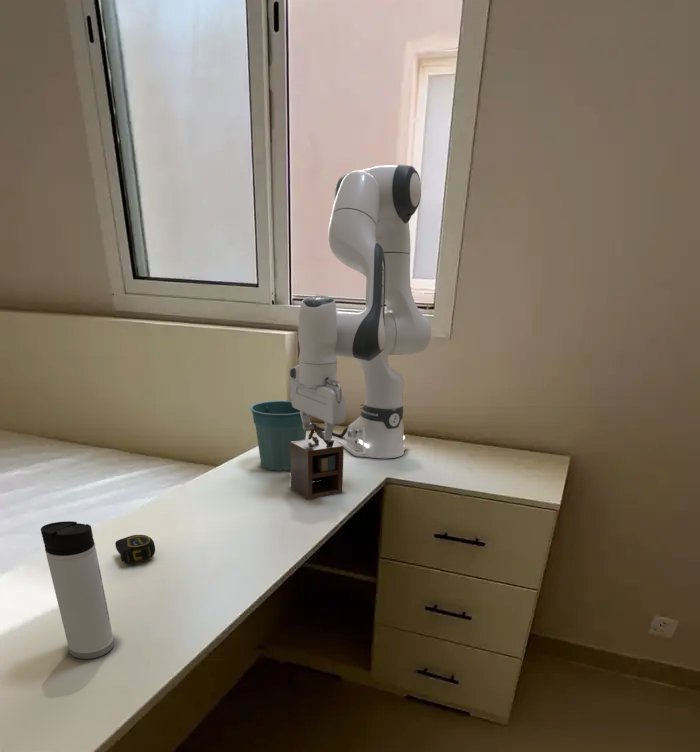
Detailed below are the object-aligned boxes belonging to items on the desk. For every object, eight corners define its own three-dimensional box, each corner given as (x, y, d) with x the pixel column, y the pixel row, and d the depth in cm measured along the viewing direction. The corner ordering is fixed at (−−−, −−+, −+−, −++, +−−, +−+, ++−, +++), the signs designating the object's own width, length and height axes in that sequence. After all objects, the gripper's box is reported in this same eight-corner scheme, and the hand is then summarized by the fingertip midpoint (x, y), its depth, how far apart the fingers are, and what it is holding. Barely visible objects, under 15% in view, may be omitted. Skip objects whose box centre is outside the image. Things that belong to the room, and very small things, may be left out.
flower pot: (259, 476, 162) (256, 415, 154) (247, 458, 176) (244, 401, 167) (317, 472, 167) (318, 412, 159) (302, 455, 180) (302, 399, 172)
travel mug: (58, 655, 88) (26, 528, 78) (90, 632, 94) (64, 511, 84) (92, 665, 87) (64, 537, 77) (123, 641, 92) (100, 519, 82)
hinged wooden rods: (309, 435, 151) (314, 420, 147) (329, 455, 148) (334, 439, 145) (304, 436, 149) (308, 421, 146) (323, 456, 147) (329, 441, 144)
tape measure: (116, 554, 118) (113, 536, 116) (152, 548, 121) (149, 531, 119) (122, 568, 113) (119, 550, 111) (159, 562, 116) (157, 544, 114)
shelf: (290, 488, 155) (290, 441, 149) (324, 482, 160) (324, 437, 154) (308, 499, 148) (308, 450, 142) (342, 493, 153) (343, 445, 147)
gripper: (353, 381, 134) (351, 443, 141) (308, 367, 149) (307, 424, 156) (329, 383, 131) (327, 446, 138) (285, 368, 146) (286, 426, 152)
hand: (316, 434), depth 147 cm, fingers open, 8 cm apart
